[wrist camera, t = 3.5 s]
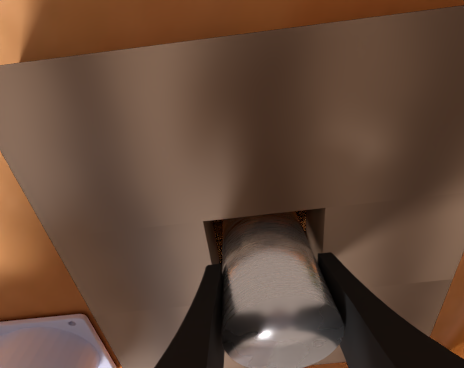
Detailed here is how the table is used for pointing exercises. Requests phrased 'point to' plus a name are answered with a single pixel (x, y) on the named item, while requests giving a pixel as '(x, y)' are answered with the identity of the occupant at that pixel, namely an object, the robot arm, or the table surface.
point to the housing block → (246, 162)
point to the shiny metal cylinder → (275, 295)
